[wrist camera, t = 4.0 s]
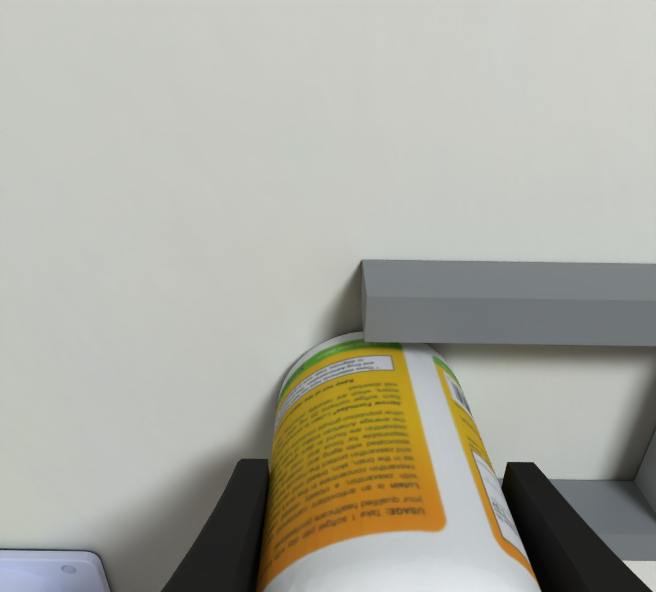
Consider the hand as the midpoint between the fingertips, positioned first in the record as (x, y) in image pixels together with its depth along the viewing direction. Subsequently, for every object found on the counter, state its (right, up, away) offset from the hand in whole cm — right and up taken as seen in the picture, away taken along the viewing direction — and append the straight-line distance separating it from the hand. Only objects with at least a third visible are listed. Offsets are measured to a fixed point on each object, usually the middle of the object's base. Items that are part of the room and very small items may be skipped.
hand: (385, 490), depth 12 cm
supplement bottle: (0, +2, +3) cm, 4 cm away
